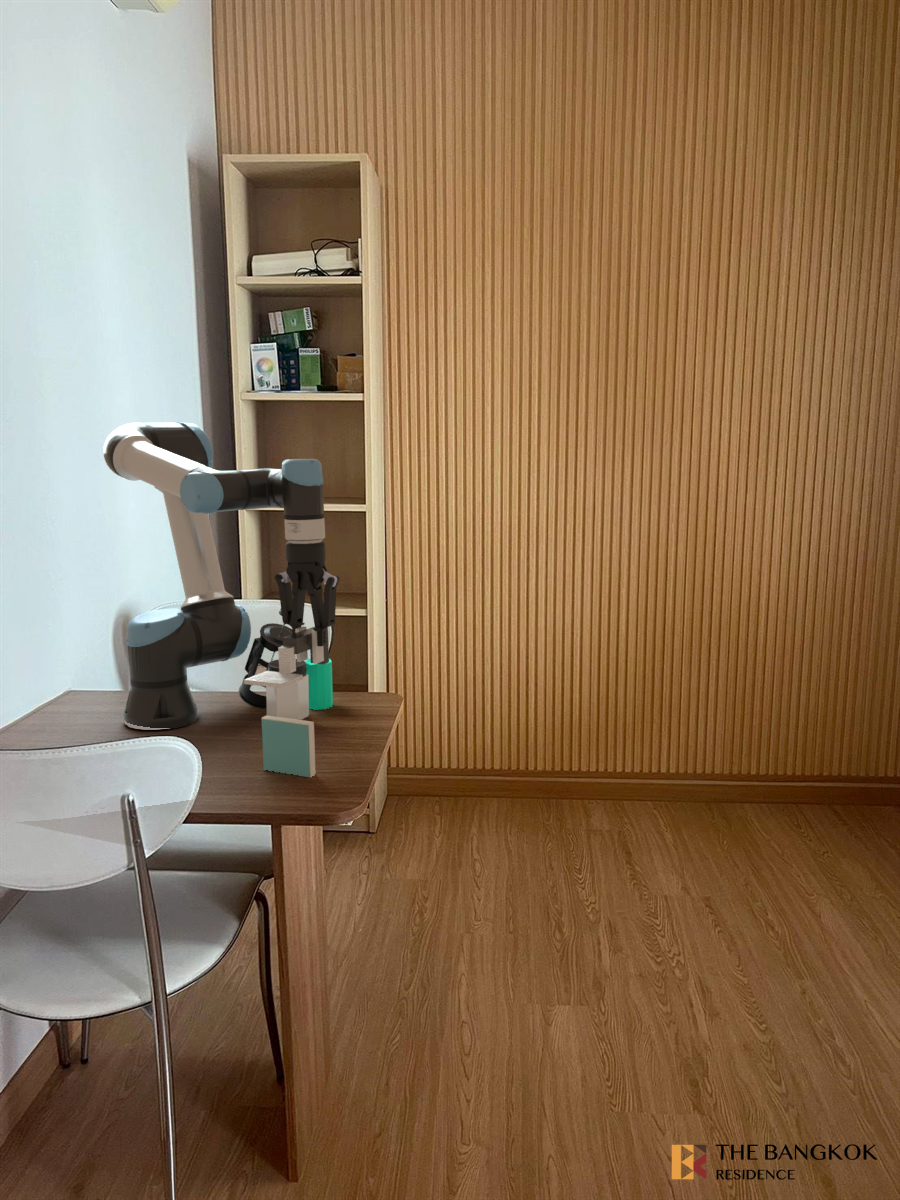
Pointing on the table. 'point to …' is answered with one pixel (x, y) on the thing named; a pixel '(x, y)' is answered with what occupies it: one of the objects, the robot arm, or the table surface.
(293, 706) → the jar
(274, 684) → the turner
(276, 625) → the french press
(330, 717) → the table surface
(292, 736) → the tile
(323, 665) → the candle
